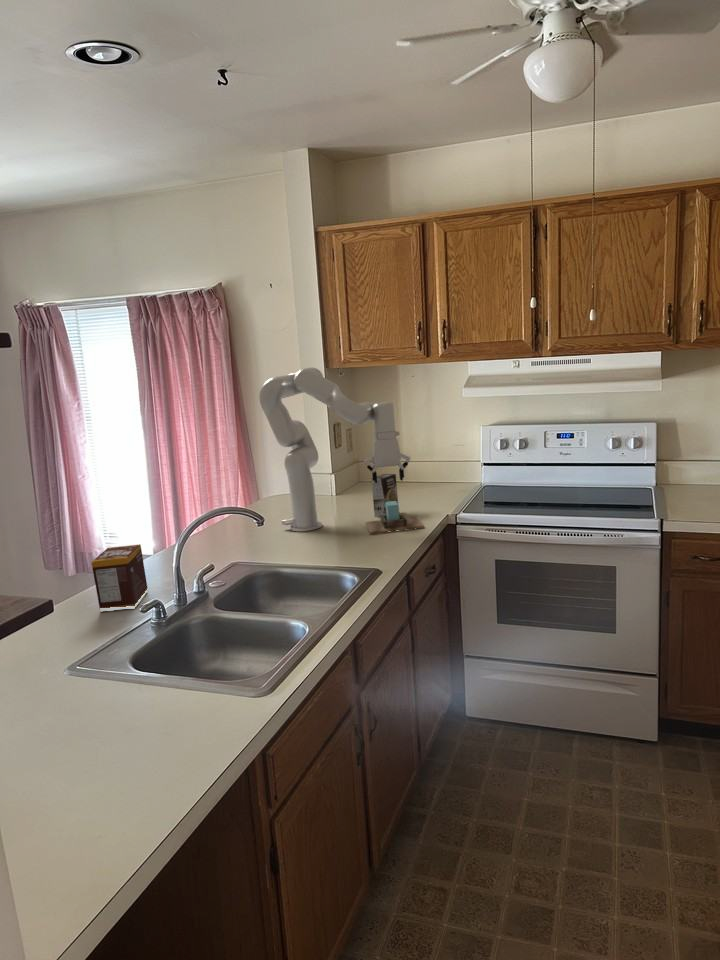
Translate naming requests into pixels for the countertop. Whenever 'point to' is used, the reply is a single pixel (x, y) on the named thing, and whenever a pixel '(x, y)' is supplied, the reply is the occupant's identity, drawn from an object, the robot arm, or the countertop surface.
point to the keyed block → (392, 510)
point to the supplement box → (119, 576)
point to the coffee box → (384, 492)
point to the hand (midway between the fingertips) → (388, 481)
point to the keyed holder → (393, 524)
